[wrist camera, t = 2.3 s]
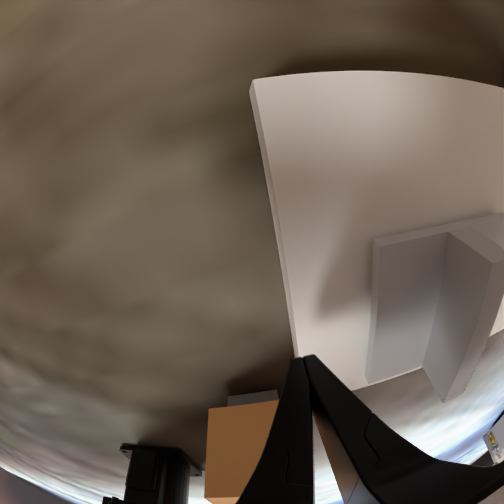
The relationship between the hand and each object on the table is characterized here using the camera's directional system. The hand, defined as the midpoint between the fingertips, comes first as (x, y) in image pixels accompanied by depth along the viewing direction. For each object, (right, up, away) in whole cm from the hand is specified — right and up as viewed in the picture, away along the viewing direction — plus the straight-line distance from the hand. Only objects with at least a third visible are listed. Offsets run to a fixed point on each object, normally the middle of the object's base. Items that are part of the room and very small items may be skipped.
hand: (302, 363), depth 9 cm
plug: (-2, -7, +8) cm, 11 cm away
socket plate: (+8, +5, +3) cm, 10 cm away
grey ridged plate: (+6, +2, +1) cm, 7 cm away
